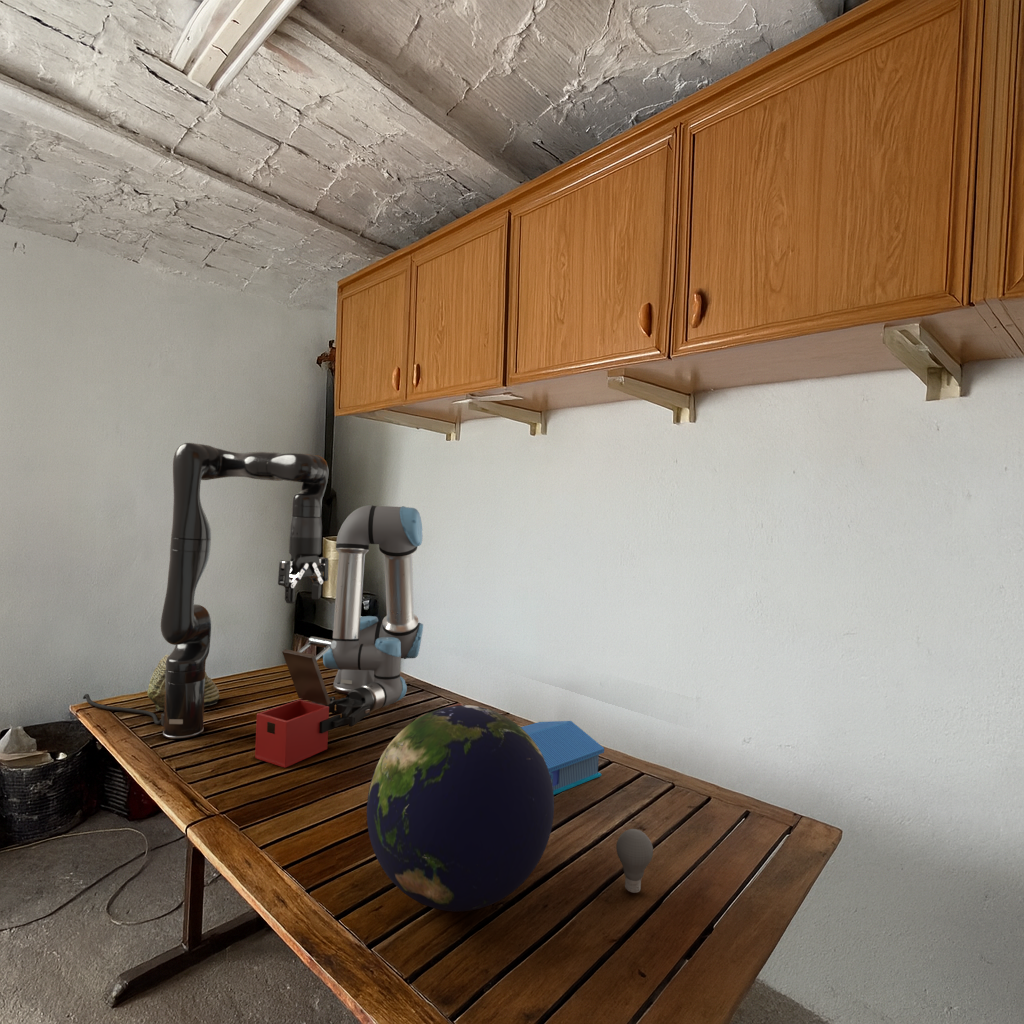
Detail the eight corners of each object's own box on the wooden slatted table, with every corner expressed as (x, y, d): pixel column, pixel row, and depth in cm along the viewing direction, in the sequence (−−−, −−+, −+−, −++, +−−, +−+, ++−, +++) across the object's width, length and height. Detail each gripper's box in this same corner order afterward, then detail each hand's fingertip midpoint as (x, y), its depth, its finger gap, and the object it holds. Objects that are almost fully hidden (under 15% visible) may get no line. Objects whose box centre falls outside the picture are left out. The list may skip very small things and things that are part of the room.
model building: (483, 834, 121) (485, 782, 121) (412, 787, 139) (414, 742, 139) (612, 780, 148) (614, 737, 147) (538, 746, 166) (540, 708, 166)
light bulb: (610, 879, 108) (613, 822, 108) (644, 879, 109) (647, 822, 109) (619, 902, 102) (622, 840, 102) (655, 901, 103) (658, 840, 103)
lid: (311, 657, 153) (337, 635, 160) (281, 651, 157) (308, 630, 165) (327, 705, 158) (352, 681, 166) (298, 698, 163) (323, 675, 170)
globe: (322, 922, 94) (330, 722, 94) (423, 829, 122) (430, 674, 122) (507, 988, 83) (517, 762, 83) (572, 869, 111) (580, 699, 110)
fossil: (144, 707, 182) (145, 655, 182) (212, 696, 194) (213, 647, 194) (151, 716, 175) (153, 662, 175) (221, 703, 188) (223, 653, 188)
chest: (284, 768, 147) (286, 722, 147) (254, 758, 151) (256, 713, 151) (327, 749, 159) (329, 706, 159) (298, 740, 164) (300, 699, 163)
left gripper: (294, 537, 148) (292, 606, 148) (337, 535, 160) (335, 599, 161) (271, 535, 151) (269, 603, 151) (315, 533, 164) (313, 596, 164)
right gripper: (396, 721, 173) (338, 748, 153) (333, 705, 183) (272, 728, 164) (397, 694, 173) (339, 717, 153) (334, 679, 183) (273, 699, 164)
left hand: (303, 601), depth 156 cm, fingers open, 8 cm apart
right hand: (304, 723), depth 158 cm, fingers closed on chest, 10 cm apart
